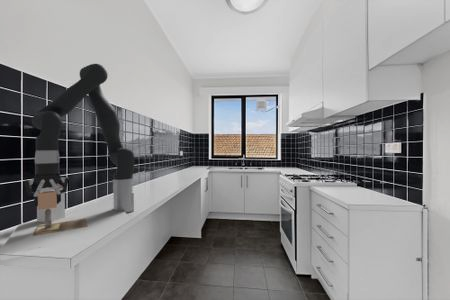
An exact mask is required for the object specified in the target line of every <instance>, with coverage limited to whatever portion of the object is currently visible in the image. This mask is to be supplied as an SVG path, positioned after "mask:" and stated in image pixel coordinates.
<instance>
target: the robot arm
mask: <svg viewBox="0 0 450 300" xmlns="http://www.w3.org/2000/svg"><path fill="white" fill-rule="evenodd" d="M106 69H107V68H105V67H104V66H103V65H102V64H100V63H91V64H89V65H85V66H83V67H82V68H80V70H79V78H80V79H79V80H78V81H77V82H75V83H74V84H72V85H70V86H69V87H68V88H66V89H65V90H63V91H62V92H61V93H60V94H59V95H58V96H56V97H55V98H54V99H53V100H52V101H51V102H50V103H48V104H47V105H45V106H44V107H42V108H40V110H38V111H37V112H35V114H34V115H33V116H32V119H31V123H32V125H33V126H34V128H36V129H37V130H40V134H39V135H38V136H36V139H35V155H34V173H35V174H34V178H31V179H26V180H24V186H25V187H24V188H25V191H26V194H27V196H30V197H33V198H34V199H33V203H34V204H33V205H34V206H36V207H37V206H38V193H40V191H41V189H42V188H47V187H48V188H54V190H55V191H56V192H57V204H59V202H61V194H62V193H64V192H65V193H66V192H67V188H68V184H69V179H70V178H69V177H68V176H67V177H61V173H60V152H59V138H60V136H61V130H62V128H63V127H62V126H63V121H62V117H64V116H66V115H68V114H70V113H71V112H72V110H73V109H75V107H76V106H78V105H79V104H80V102H82V100H83V99H85V97H87V96H88V98H89V99H90V102H91V103H90V104H91V105H92V107H93V110H94V113H95V116H96V119H97V121H98V124H99V126H100V130H101V132H102V136H103V138H104V140H105V143H106V146H107V151H108V156H109V158H110V161H111V163H112V164H114V165H115V166H116V171H115V172H114V174H113V175H112V178H113V184H112V185H113V186H112V187H113V188H112V189H113V211H115V212H124V213H127V214H128V213H131V212H134V211H135V201H134V200H135V199H134V198H135V197H134V196H135V195H134V194H135V193H134V192H133V191H134V190H133V183H134V182H133V175H134V173H135V172H134V171H135V154H134V152H133V150H132V149H130V148H126V147H123V144H122V142H121V138H120V126H121V125H120V120H119V116H118V114H117V111H116V109H115V107H114V106H113V105H112V104H111V102H110V101H109V100H108V99H107V98H106V97H105V95H104V93H103V91H102V88H101V85H102V84H104V83H105V82H106V81H107V79H108V75H109V73H108V71H107V70H106ZM60 181H62V183H63V186H62V187H63V189H62V190H60V189H59V187H58V185H57V183H58V184H59V182H60ZM33 183H35V184H36V185H37V188H36V190H35V192H34V191H33V189H32V185H33Z"/></svg>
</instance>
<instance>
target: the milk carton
mask: <svg viewBox="0 0 450 300" xmlns="http://www.w3.org/2000/svg"><path fill="white" fill-rule="evenodd" d="M57 185H58V187H59V189H60V190H62V189H63V186H62V184H59V182H58V183H57ZM43 191H54V188H48V187H47V188H42V189H41V191H40V192H43ZM65 194H66V192H64V193H62V194H61V202H59V204H57V208H49V209H50V210H51V223H53V222H55V221H59V220H61V219H64V218H66V204H65V203H66V199H65V197H66V195H65ZM46 210H47V209H41V210H38V206H37V205H36V219H37V220H36V222H42V223H45V211H46Z"/></svg>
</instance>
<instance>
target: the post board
mask: <svg viewBox="0 0 450 300" xmlns="http://www.w3.org/2000/svg"><path fill="white" fill-rule="evenodd" d="M86 227H88V221H87V218H80V219H76V220H75V219H74V220H68V221H61V222H55V223H52V222H51V210H50V209H47V210H46V211H45V222H44V224H43V225H37V226H36V228H35V230H34V232H33V234H32V237H35V236H39V235H40V236H41V235H46V234H51V233H58V232H64V231H69V230H76V229H81V228H86Z"/></svg>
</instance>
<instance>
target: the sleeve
mask: <svg viewBox="0 0 450 300" xmlns="http://www.w3.org/2000/svg"><path fill="white" fill-rule="evenodd" d="M49 208H57V192H56V191H55V190H54V191H43V192H40V193H38V210H41V209H49Z"/></svg>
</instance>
